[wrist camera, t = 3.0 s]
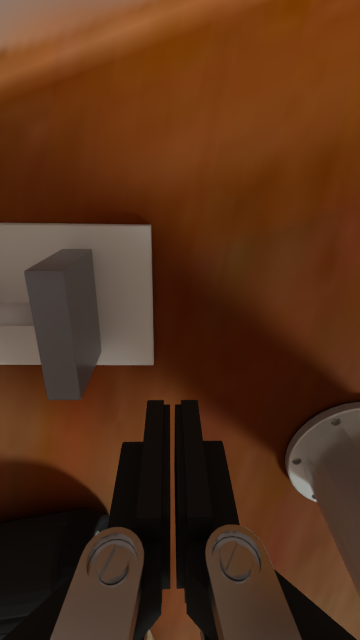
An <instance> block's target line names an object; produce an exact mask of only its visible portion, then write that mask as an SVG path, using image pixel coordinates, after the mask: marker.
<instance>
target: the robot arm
mask: <svg viewBox="0 0 360 640" xmlns="http://www.w3.org/2000/svg"><path fill="white" fill-rule="evenodd" d="M174 466H175V524H176V578H177V589H180V588H184V590H185V603H186V604H187V614H188V615H189V617H190V618H191V619H192V620H193V621H194V622H195V624H196V625H197V626H198V627H199V628H200V635H201V640H356V639H355V638H354V637H353V636H352V635H351V634H349V633H348V632H347V631H346V630H345V629H344V628H342V627H341V626H340V625H339V624H338V623H337V622H335V621H334V620H333V619H332V618H331V617H330V616H328V615H327V614H326V613H325V612H324V611H322V610H321V609H320V608H319V607H318V606H317V605H315V604H314V603H313V602H312V601H311V600H310V599H308V598H307V597H306V596H305V595H304V594H303V593H301V592H300V591H299V590H298V589H297V588H296V587H294V586H293V585H292V584H291V583H290V582H288V581H287V580H286V579H285V578H284V577H283V576H281V575H280V574H279V573H278V572H277V571H276V570H274V568H273V566H272V563H271V561H270V558H269V556H268V553H267V551H266V549H265V547H264V545H263V543H262V542H261V540H260V539H259V538H258V537H257V536H256V535H255V534H254V533H253V532H252V531H250V530H249V529H247V528H245V527H242V526H240V524H239V520H238V515H237V510H236V505H235V500H234V495H233V490H232V485H231V480H230V475H229V470H228V465H227V461H226V456H225V451H224V446H223V443H222V441H203V438H202V431H201V423H200V415H199V407H198V401H197V400H181V405H175V463H174ZM285 466H286V470H287V474H288V476H289V478H290V481H291V483H292V485H293V486H294V487H295V489H296V490H297V491H298V492H299V493H301V494H302V495H303V496H304V497H306V498H308V499H310V500H312V501H315V502H317V503H318V505H319V507H320V509H321V512H322V514H323V516H324V518H325V521H326V523H327V525H328V527H329V529H330V532H331V534H332V536H333V538H334V541H335V543H336V545H337V547H338V549H339V552H340V554H341V556H342V558H343V561H344V563H345V565H346V567H347V570H348V572H349V574H350V576H351V578H352V581H353V583H354V585H355V587H356V590H357V592H358V594H359V596H360V402H355V403H348V404H343V405H340V406H337V407H333V408H330V409H328V410H326V411H324V412H322V413H320V414H318V415H317V416H315V417H313V418H312V419H310V420H309V421H308V422H307V423H305V424H304V425H303V426H302V427H301V428H300V429H299V430H298V431H297V433H296V434H295V435H294V436H293V438H292V440H291V441H290V443H289V445H288V447H287V451H286V455H285ZM162 589H170V405H164V400H148V401H147V410H146V421H145V431H144V441H143V442H123V444H122V448H121V454H120V459H119V465H118V471H117V476H116V482H115V487H114V493H113V499H112V504H111V510H110V516H109V521H108V527H107V529H106V530H103V531H101V532H100V533H98V534H97V535H95V536H94V537H93V538H92V539H91V540H90V541H89V543H88V544H87V545H86V547H85V549H84V551H83V553H82V555H81V557H80V560H79V563H78V566H77V568H76V571H75V573H74V574H73V575H72V576H71V577H70V578H69V579H68V580H67V581H65V582H64V583H63V584H62V585H61V586H60V587H59V588H58V589H57V590H56V591H54V592H53V593H52V594H51V595H50V596H49V597H48V598H47V599H46V600H45V601H43V602H42V603H41V604H40V605H39V606H38V607H37V608H36V609H35V610H34V611H32V612H31V613H30V614H29V615H28V616H27V617H26V618H25V619H24V620H23V621H22V622H20V623H19V624H18V625H17V626H16V627H15V628H14V629H13V630H12V631H11V632H9V633H8V634H7V635H6V636H5V637H4V638H3V639H2V640H147V634H148V630H149V629H150V628H151V627H152V625H153V624H154V623H155V621H156V620H157V619H158V618H159V616H160V615H161V603H162Z"/></svg>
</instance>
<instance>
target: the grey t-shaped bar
mask: <svg viewBox="0 0 360 640" xmlns="http://www.w3.org/2000/svg"><path fill="white" fill-rule="evenodd" d="M24 275H25V280H26V286H27V291H28V297H29V302H0V326H34V329H35V334H36V340H37V345H38V350H39V356H40V361H41V366H42V372H43V377H44V383H45V388H46V393H47V399H48V400H81V398H82V396H83V394H84V391H85V389H86V387H87V385H88V382H89V380H90V378H91V375H92V373H93V371H94V368H95V366H96V364H97V361H98V359H99V357H100V355H101V352H102V350H101V340H100V330H99V319H98V309H97V298H96V288H95V277H94V267H93V257H92V249H61V250H60V251H58V252H56V253H54V254H53V255H51V256H49V257H47V258H46V259H44V260H42V261H40V262H39V263H37V264H35V265H34V266H32V267H30V268H28V269H27V270H25V271H24Z"/></svg>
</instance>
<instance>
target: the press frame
mask: <svg viewBox="0 0 360 640" xmlns="http://www.w3.org/2000/svg"><path fill="white" fill-rule="evenodd" d="M61 249H92V257H93V267H94V277H95V288H96V298H97V309H98V319H99V330H100V340H101V350H102V352H101V355H100V357H99V359H98V361H97V364H96V365H154V327H153V280H152V233H151V225H143V224H64V223H0V302H29V297H28V291H27V286H26V280H25V275H24V271H25V270H27V269H28V268H30V267H32V266H34V265H35V264H37V263H39V262H40V261H42V260H44V259H46V258H47V257H49V256H51V255H53V254H54V253H56V252H58V251H60V250H61ZM0 365H41V361H40V356H39V350H38V345H37V340H36V334H35V329H34V326H0Z"/></svg>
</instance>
